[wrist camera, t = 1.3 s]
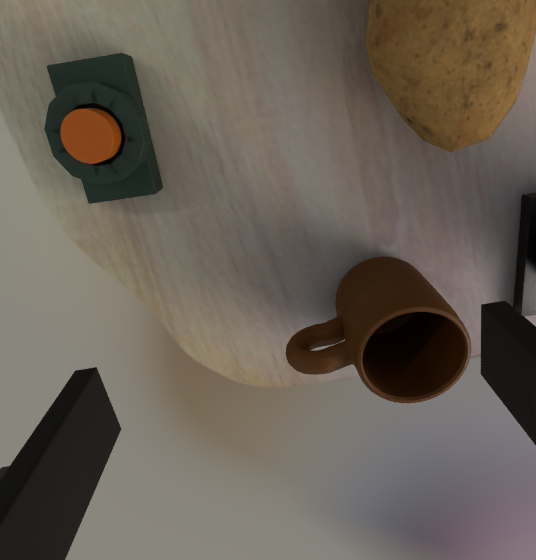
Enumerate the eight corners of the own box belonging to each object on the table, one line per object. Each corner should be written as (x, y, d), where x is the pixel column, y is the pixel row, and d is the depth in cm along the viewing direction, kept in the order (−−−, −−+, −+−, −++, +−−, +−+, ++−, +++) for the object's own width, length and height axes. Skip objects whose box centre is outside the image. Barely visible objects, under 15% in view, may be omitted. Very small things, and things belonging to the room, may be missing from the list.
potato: (366, 157, 32) (396, 174, 25) (339, -73, 27) (367, -138, 20) (500, 128, 32) (572, 137, 24) (499, -114, 26) (591, -198, 19)
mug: (288, 348, 38) (295, 421, 30) (275, 269, 36) (278, 324, 27) (425, 329, 38) (473, 397, 29) (423, 246, 35) (475, 295, 26)
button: (64, 112, 27) (52, 113, 26) (114, 104, 27) (104, 104, 26) (80, 163, 29) (69, 167, 27) (127, 156, 29) (119, 159, 27)
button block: (52, 69, 30) (23, 64, 26) (139, 54, 29) (122, 48, 26) (92, 198, 33) (70, 211, 29) (170, 186, 33) (158, 198, 29)
